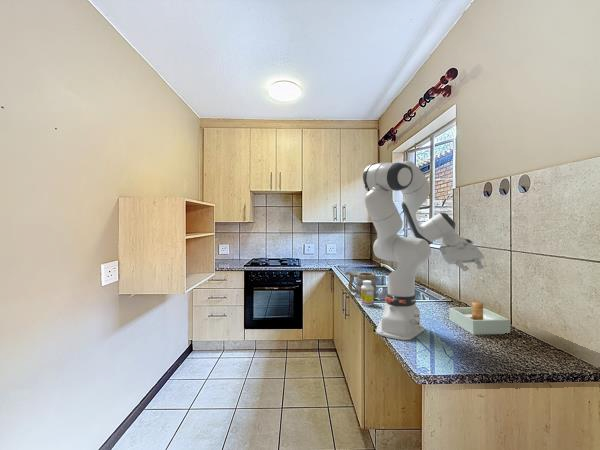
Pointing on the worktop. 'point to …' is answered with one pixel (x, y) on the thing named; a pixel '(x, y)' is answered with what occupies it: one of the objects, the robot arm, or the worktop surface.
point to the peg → (477, 311)
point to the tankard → (360, 279)
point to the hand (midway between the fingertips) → (474, 269)
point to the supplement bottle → (367, 293)
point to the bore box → (479, 321)
